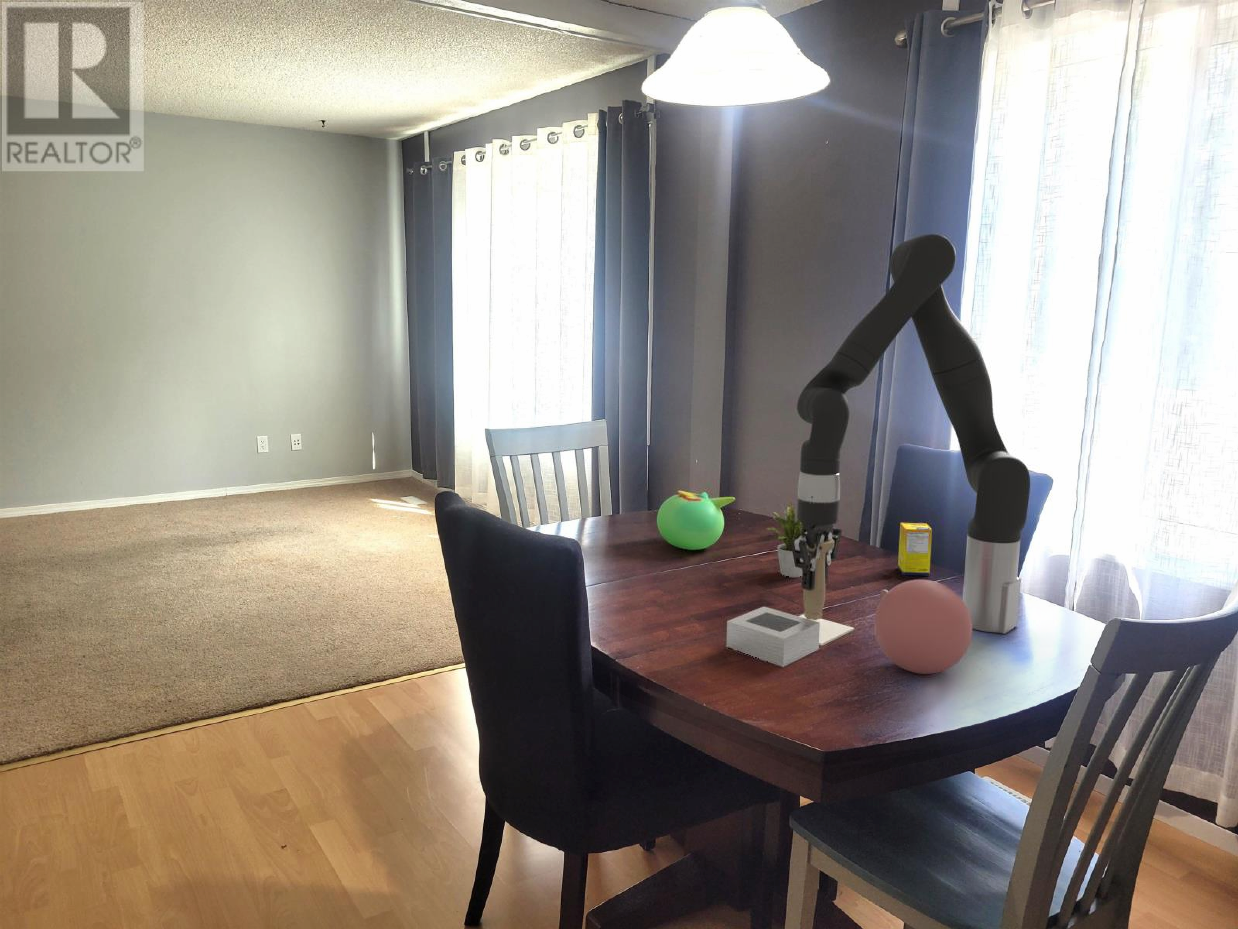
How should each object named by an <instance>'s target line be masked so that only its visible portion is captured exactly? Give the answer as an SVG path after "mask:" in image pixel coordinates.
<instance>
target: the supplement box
mask: <svg viewBox="0 0 1238 929" xmlns="http://www.w3.org/2000/svg"><path fill="white" fill-rule="evenodd" d="M899 525H900V526H899V539H898V561H897V562H898V563H897V569H898V570H899V572H900V573H901V575H902V576H922V577H923V576H926V577H928V576H930V573H931V572H930V570H931V555H932V536H933V535H932V533H933V530H932V528H931V527H930V525H929V524H927V523H923V522H918V523H917V522H916V523H914V522H900V524H899Z"/></svg>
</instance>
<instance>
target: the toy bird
mask: <svg viewBox="0 0 1238 929" xmlns="http://www.w3.org/2000/svg"><path fill="white" fill-rule="evenodd" d="M734 501H736V498H735V497H734V496H724V497H714V498H713V497H712V498H711V497H710V498H709V495H708V493H706V492H704V491H703V492H702V493H700V494H698V493H695V492H687V491H684V490H677V494H674V495H672V496H670V497H669V498H667V499H666V500H664V502H663V503H662V504H661V505H660V507H659V509H658V512H657V516H656V524H657V528H658V532H659V534H660V535H661V537H662V538H663V539H664V540H665V541H666V542H667V543H669V544H670V545H672V546H674V547H676V548H679V549H681V548H682V549H681V550H686V549H687V550H686V551H698V550H699V551H700V550H703V549H706V548H708V547H711V546H713V545H714V544H715V543H717V541H718V540H719V539H720V537H721V536H722V534H723V531H724V527H725V518H724V515H723V511H722V510H721V508H723V507H724V506H727V505H729V504H731V503H733V502H734Z"/></svg>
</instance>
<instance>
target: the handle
mask: <svg viewBox="0 0 1238 929" xmlns="http://www.w3.org/2000/svg"><path fill="white" fill-rule="evenodd" d="M806 545H807V543H806ZM815 546H816V544H815ZM820 546H821V550H820V557H819V558H818V559H817V560H816V565H815V570H814V571H815V582H814V589H813V590H806V589H803V592H802V594H803V596H802V597H803V598H802V600H803V609H804V610H803V614H804V616H805V617H806V618H807V619H812V620H817V619H823V615H824V614H823V610H824V605H825V601H826V600H825V598H826V585H825V554H826V552H828V551H829V550H831V549H833V548H834V540H833V539H831V540H830V541H824V542H823V543H822V544H820ZM807 552H808V553H812V554H813V553H814V552H815V547H814V549H811V548H810V547H808V548H807ZM808 558H809V563H810V562H811V558H810V557H808Z"/></svg>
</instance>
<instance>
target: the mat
mask: <svg viewBox="0 0 1238 929" xmlns="http://www.w3.org/2000/svg"><path fill="white" fill-rule="evenodd" d="M798 616H799V617H802V618H806V617H805V616H804V613H803V614H800V615H798ZM806 619H807V618H806ZM809 620H812V619H809ZM813 621H816V622H820V630H819V646H824V645H826V644H829V643H830V642H832V641H835V640H836V639H837V640H838V639H839V638H840V637H843V636H844V635H848V634H849V633H851V632H853V631H854V630H855V627H852V626H848V625H845V624H842V623H839V622H834V621H831V620H827V619H823V618H821V619H817V620H813Z"/></svg>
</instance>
